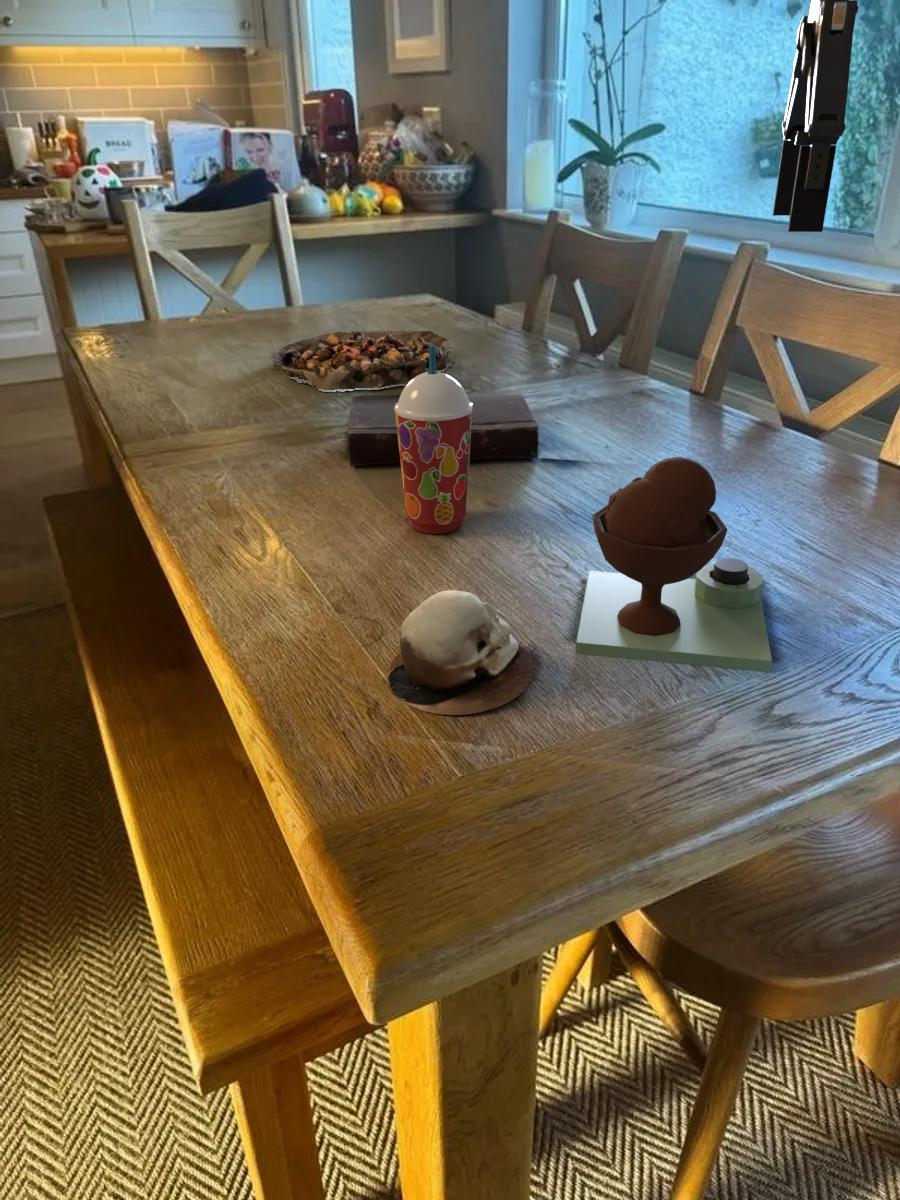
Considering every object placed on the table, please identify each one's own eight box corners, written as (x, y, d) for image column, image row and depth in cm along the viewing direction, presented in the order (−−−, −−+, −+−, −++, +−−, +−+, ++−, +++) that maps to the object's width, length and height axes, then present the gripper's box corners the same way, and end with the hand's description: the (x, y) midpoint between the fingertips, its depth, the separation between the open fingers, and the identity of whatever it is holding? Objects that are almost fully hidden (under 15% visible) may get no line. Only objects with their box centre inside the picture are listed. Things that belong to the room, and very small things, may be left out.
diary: (538, 462, 120) (539, 425, 118) (349, 470, 119) (347, 433, 116) (519, 420, 136) (519, 387, 134) (353, 427, 135) (350, 394, 133)
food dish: (390, 409, 146) (386, 361, 142) (235, 388, 161) (228, 344, 158) (490, 355, 172) (489, 313, 168) (349, 341, 187) (345, 303, 183)
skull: (477, 608, 82) (524, 561, 74) (521, 714, 80) (575, 677, 71) (358, 640, 77) (393, 593, 68) (400, 754, 74) (442, 720, 66)
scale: (756, 592, 87) (760, 564, 85) (770, 673, 74) (775, 642, 73) (588, 579, 90) (590, 551, 88) (575, 654, 77) (577, 624, 76)
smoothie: (474, 510, 106) (473, 336, 96) (472, 539, 99) (471, 355, 89) (403, 510, 106) (395, 337, 97) (396, 539, 99) (387, 355, 89)
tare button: (744, 573, 85) (747, 558, 84) (747, 588, 82) (749, 573, 81) (711, 571, 85) (713, 556, 84) (713, 585, 83) (715, 570, 82)
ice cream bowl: (643, 580, 87) (657, 429, 80) (738, 626, 79) (764, 463, 72) (561, 613, 81) (569, 454, 74) (654, 666, 73) (673, 494, 66)
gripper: (927, -97, 61) (864, 239, 71) (861, -43, 82) (819, 209, 92) (809, -90, 62) (764, 239, 72) (775, -39, 84) (743, 209, 94)
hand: (795, 223), depth 82 cm, fingers open, 13 cm apart
